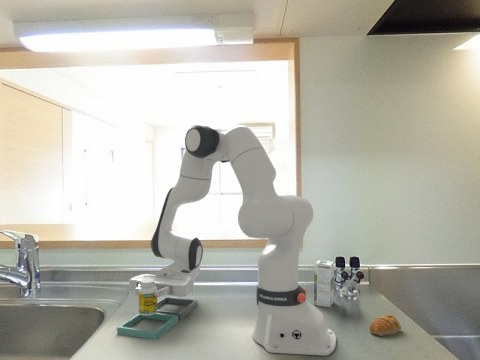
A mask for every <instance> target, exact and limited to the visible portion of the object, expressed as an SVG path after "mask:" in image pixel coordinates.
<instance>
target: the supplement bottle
mask: <svg viewBox="0 0 480 360" xmlns="http://www.w3.org/2000/svg"><path fill="white" fill-rule="evenodd" d="M154 285H155V280H154V279H144V280H142V281H141V286H142V287H141V288H140V289H139V295H138V314H140V315H143V316H150V315H153V314H155V313H156V312H157V310H158V308H157V302H158V297H155V296H154V291H155V290H157V288H156V287H155V286H154Z"/></svg>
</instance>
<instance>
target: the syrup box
mask: <svg viewBox="0 0 480 360" xmlns="http://www.w3.org/2000/svg"><path fill="white" fill-rule="evenodd" d="M313 269H314V270H313V271H314V278H313V279H314V281H313V283H314V285H313V306H314V305H315V306H318V307H326V308H331V307H332V305H333V304H334V302H335V297H334V296H335V262H334V261H331V260H325V259H324V260H323V259H321V260H320V259H319V260H317V261H316V262H315V263H314V268H313Z"/></svg>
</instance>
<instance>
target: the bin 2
mask: <svg viewBox="0 0 480 360" xmlns="http://www.w3.org/2000/svg"><path fill="white" fill-rule="evenodd" d="M167 303H169V304H176V305H185V306H186V307H184V308H183V309H182V310H181V311H179V312H178V311H170V310H164V309H163V310H161V309H159V308H160V307H162V306H163V305H165V304H167ZM198 305H199V302H198V299H192V298H191V299H190V298H184V297H182V298H181V297H177V296H168V295H164V296H163V298H161V299H159V300H157V312H156V313H163V314H171V315H178V320H182V319H183V318H184V317H186V315H188V314H189V313H190V312H191V311H192V310H194V309H195V308H196V307H198Z"/></svg>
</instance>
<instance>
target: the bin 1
mask: <svg viewBox="0 0 480 360" xmlns="http://www.w3.org/2000/svg"><path fill="white" fill-rule="evenodd" d="M143 319H149V320H156V321H157V320H158V321H165V323H164V324H162V325H161V326H160V327H158V328H157V329H156V330H155V331H153V330H147V329H142V328H141V329H139V328H134V327H132V326H134V325H135V324H136V323H138V322H140V321H141V320H143ZM178 321H179V319H178V315H171V314H163V313H155V314H153V315H150V316H143V315H140V314H139V313H137V314H135V315H134V316H132V317H131V318H129V319H128V320H126V321H124V322H123V323H122V324H120V325H118V326H116V327H117V328H116V333H117V335H125V336H132V337H138V338H144V339H148V340H149V339H150V340H157V339H158V338H160V337H161V336H162V335H163V334H164V333H166V332H167V331H168V330H169V329H170V328H172V327H173V326H175V325H176V324H177V323H178Z"/></svg>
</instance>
